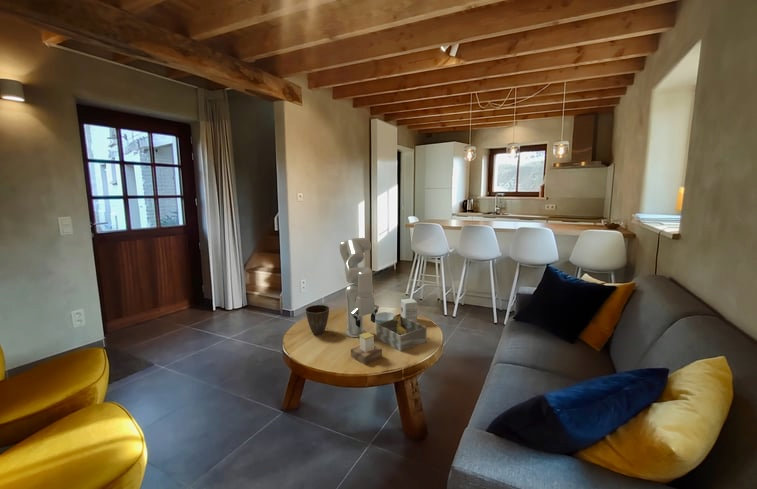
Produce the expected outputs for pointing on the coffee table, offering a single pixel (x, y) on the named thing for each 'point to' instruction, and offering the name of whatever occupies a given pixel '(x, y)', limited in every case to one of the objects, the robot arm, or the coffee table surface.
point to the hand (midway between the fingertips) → (365, 324)
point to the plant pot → (317, 318)
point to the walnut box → (366, 355)
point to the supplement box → (409, 309)
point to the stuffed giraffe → (399, 325)
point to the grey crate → (401, 342)
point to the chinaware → (383, 317)
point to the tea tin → (366, 342)
